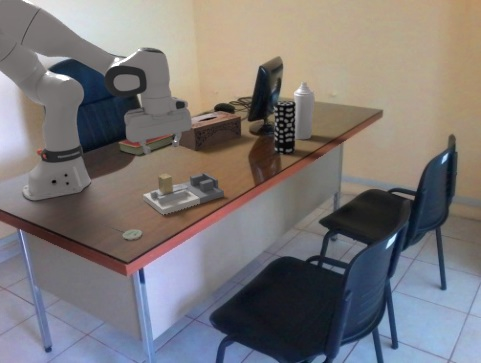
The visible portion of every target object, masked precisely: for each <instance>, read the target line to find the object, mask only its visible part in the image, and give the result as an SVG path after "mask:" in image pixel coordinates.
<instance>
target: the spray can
mask: <svg viewBox="0 0 481 363" xmlns="http://www.w3.org/2000/svg"><path fill="white" fill-rule="evenodd" d="M293 98H294V99H293V100H294V102H295V103H296V116H295V140H308V139H311V137H312V133H313V116H314V115H313V114H314V108H315V107H314V106H315V99H316V98H315V93H314V91H313V90H311V89H310V87H309V86H308V84H307V82H303V81H301V83H300V86H299V87H298V88H297V90H294V92H293Z"/></svg>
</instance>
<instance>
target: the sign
mask: <svg viewBox="0 0 481 363" xmlns="http://www.w3.org/2000/svg"><path fill="white" fill-rule="evenodd" d="M102 225H103V226H105V225H106V226H105V227H108V228H110V227H111V228H110V229H113V228H114V229H113V230H116V229H117V230H116V231H118V230H120V231H119V232H121V231H122V232H121V233H122V238H123V239H124V238H125V239H135V238H137V237H139V236H141V235H143V232H142V231H141V230H140V229H135V228H134V229H129V230H126V231H124V230H121V229H118V228H116V227H112V226H110V225H107V224H106V223H105V224H104V223H102ZM123 232H125V233H123ZM141 237H142V236H141ZM125 239H124V240H125ZM135 240H136V239H135Z"/></svg>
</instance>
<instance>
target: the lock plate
mask: <svg viewBox="0 0 481 363" xmlns="http://www.w3.org/2000/svg"><path fill="white" fill-rule="evenodd" d="M180 184H184V185H186V186H188V188H189V193H185V190H181V191H177V192H174V193H171V194H167V195H164V196H160V197H158V199H157V198H156V196H155V191H159V188H158V189H155V190H151V191H149V192H148V193H143V194H142V197H143V201H144V202H146V203H147V204H148V205H149V206H151V207H152V208H154V210H156V211H157V212H158V213H159V214H161V215H162V214H163V215H162V216H165V215H164V214H166V215H169V214H168V213H170V214H172V213H171V212H173V213H175V212H174V211H176V212H178V210H179V211H182V210H185V209H188V208H191V206H192V207H194V205H195V206H197V204H198V205H200V204H203V203H208V202H210V201H213V200H216V199H219V198H223V197H225V191H224V189H223V188H220V187H219V179H218V178H216V177H214V176H212V175H210V174H208V173H207V172H202V173H197V174H195V175H191V176H189V181H186V182H182V183H179V184H172V185H173V186H176V185H180ZM187 207H188V208H187ZM184 208H185V209H184ZM181 209H182V210H181Z"/></svg>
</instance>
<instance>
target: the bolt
mask: <svg viewBox="0 0 481 363" xmlns="http://www.w3.org/2000/svg"><path fill="white" fill-rule="evenodd" d="M157 181H158V189H159V191H155V196H156V198H157V199H158V197H160V196H164V195H167V194H171V193H174V192H177V191H181V190H185V193H189V188H188V186H186V185H184V184H182V183H179V184H180V185H178V184H175V185H176V186H173V185H174V184H173V177H172V175H170V174H168V173H162V174H159V175H157Z"/></svg>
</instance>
